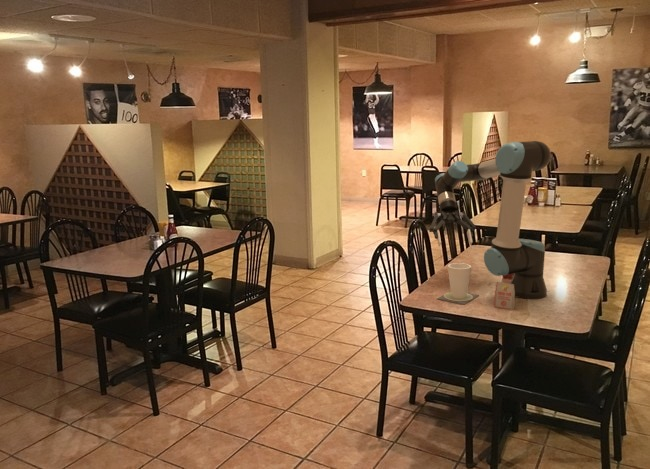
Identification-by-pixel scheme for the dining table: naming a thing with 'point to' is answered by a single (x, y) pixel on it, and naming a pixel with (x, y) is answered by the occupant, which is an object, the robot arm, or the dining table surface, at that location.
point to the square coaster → (461, 301)
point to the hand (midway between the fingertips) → (455, 244)
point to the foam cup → (459, 279)
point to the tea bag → (504, 296)
